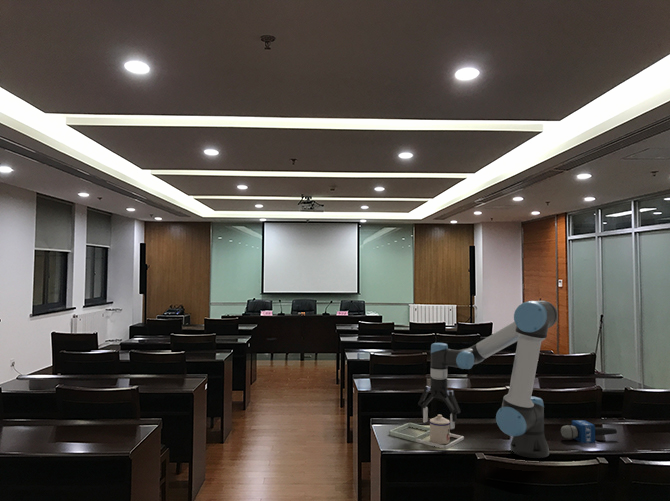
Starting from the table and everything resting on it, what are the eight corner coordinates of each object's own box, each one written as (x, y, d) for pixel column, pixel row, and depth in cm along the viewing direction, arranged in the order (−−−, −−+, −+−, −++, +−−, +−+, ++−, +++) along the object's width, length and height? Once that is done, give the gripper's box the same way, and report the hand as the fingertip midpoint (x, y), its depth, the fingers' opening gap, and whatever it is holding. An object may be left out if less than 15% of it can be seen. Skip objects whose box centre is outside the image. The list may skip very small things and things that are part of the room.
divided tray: (464, 439, 220) (464, 435, 220) (445, 449, 207) (445, 445, 207) (409, 426, 239) (409, 422, 239) (389, 434, 226) (389, 430, 226)
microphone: (620, 424, 217) (566, 425, 216) (621, 442, 217) (567, 443, 215) (609, 419, 225) (557, 420, 224) (610, 436, 225) (557, 437, 223)
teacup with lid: (451, 445, 212) (451, 418, 213) (430, 444, 213) (430, 417, 213) (447, 436, 224) (447, 410, 225) (427, 435, 225) (427, 410, 225)
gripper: (468, 380, 215) (468, 429, 214) (419, 372, 231) (418, 417, 230) (460, 383, 209) (460, 433, 208) (410, 374, 225) (410, 421, 224)
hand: (438, 425), depth 219 cm, fingers open, 13 cm apart
